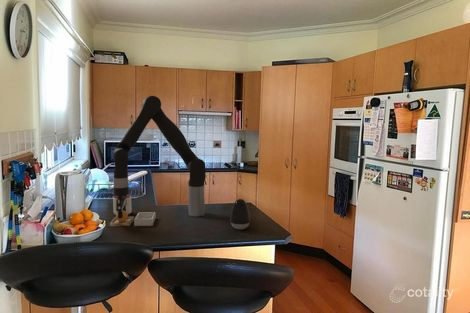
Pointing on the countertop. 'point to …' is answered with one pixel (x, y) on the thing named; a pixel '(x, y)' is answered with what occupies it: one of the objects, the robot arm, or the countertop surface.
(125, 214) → the ball
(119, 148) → the robot arm
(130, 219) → the tray
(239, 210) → the black tapered speaker
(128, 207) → the cup
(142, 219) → the bin
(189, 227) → the countertop surface
